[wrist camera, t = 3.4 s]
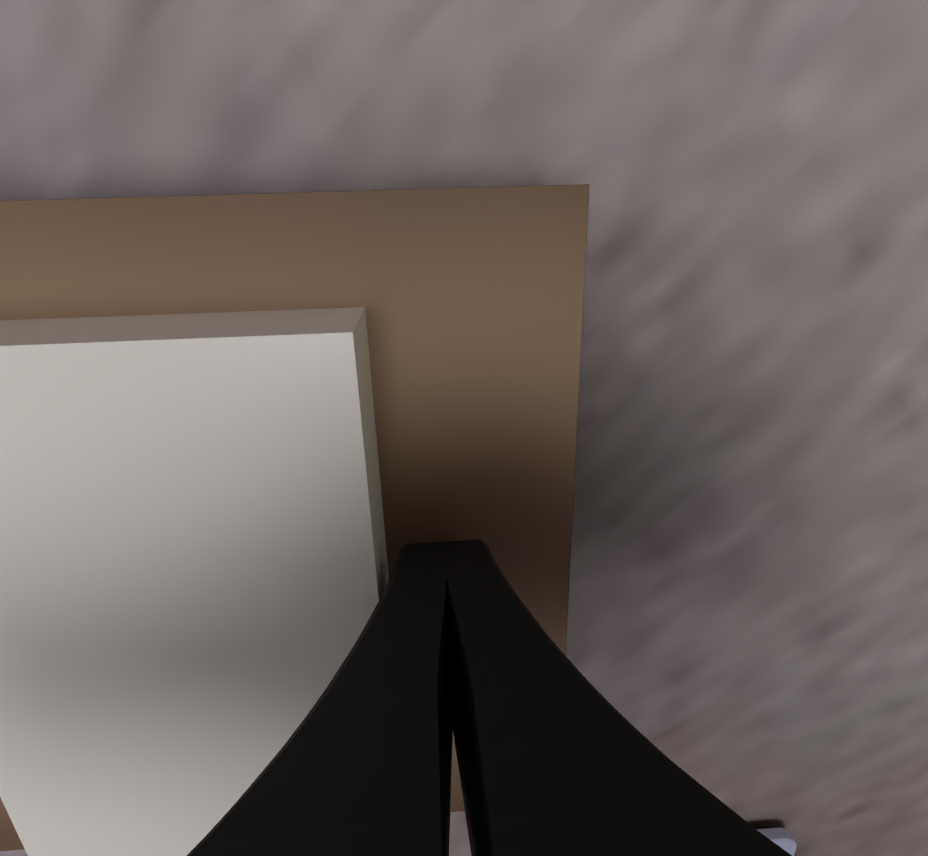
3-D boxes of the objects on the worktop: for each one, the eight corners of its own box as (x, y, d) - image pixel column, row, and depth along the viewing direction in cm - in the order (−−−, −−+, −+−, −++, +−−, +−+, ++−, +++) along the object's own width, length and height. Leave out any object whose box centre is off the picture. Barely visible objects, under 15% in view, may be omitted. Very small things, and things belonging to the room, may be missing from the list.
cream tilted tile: (405, 765, 11) (402, 849, 10) (90, 790, 11) (40, 882, 10) (365, 307, 8) (353, 332, 7) (-89, 323, 8) (-210, 353, 6)
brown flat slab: (532, 689, 15) (558, 802, 12) (50, 726, 14) (-38, 854, 12) (544, 186, 10) (588, 184, 8) (-160, 206, 10) (-390, 211, 7)
